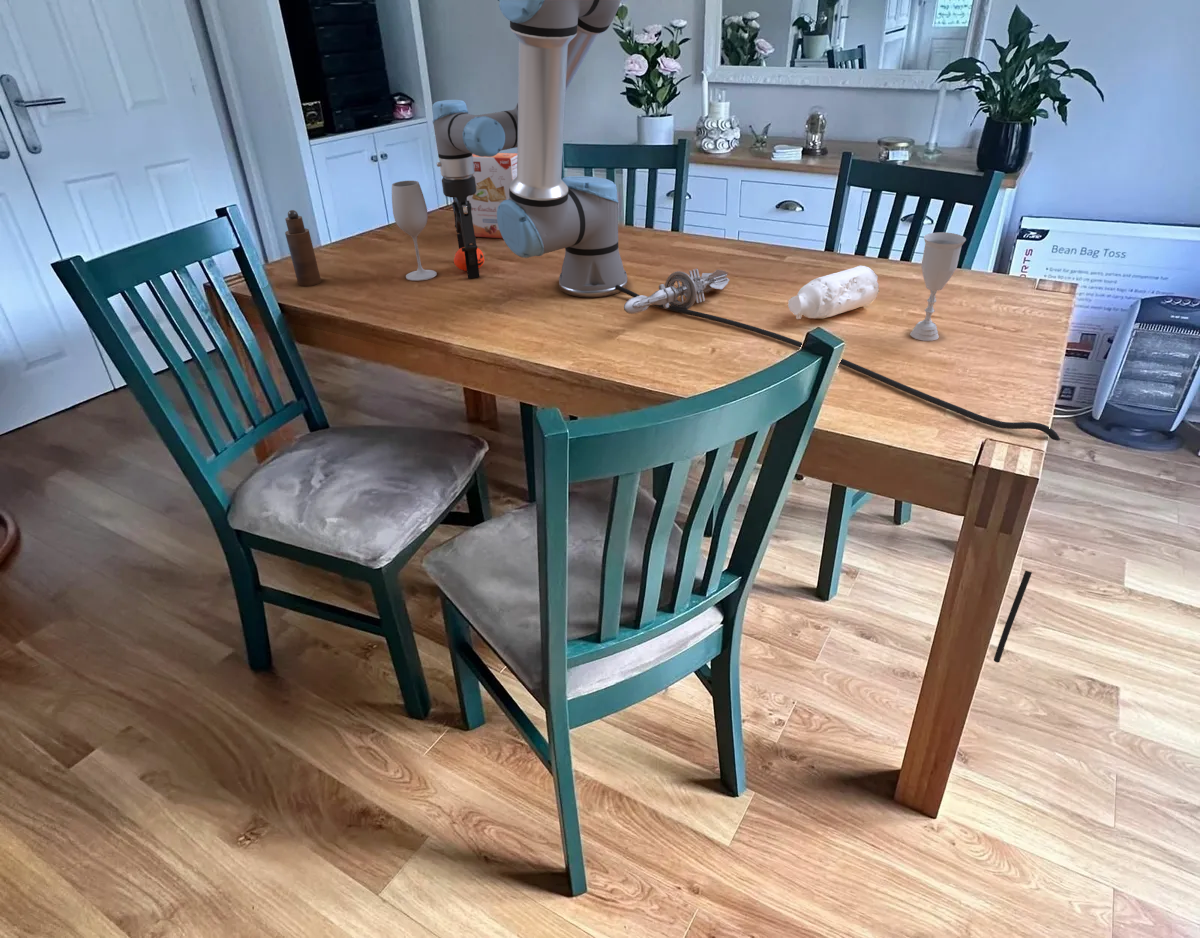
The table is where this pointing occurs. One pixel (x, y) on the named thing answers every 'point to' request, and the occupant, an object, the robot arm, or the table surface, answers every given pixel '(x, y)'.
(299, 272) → the pepper mill
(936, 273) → the chalice
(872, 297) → the white bottle
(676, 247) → the table surface
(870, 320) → the table surface
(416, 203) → the wineglass
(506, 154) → the cracker box
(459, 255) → the pumpkin
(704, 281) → the spaceship
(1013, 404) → the table surface
